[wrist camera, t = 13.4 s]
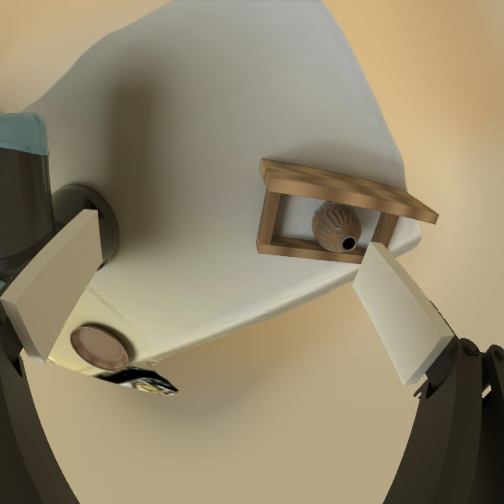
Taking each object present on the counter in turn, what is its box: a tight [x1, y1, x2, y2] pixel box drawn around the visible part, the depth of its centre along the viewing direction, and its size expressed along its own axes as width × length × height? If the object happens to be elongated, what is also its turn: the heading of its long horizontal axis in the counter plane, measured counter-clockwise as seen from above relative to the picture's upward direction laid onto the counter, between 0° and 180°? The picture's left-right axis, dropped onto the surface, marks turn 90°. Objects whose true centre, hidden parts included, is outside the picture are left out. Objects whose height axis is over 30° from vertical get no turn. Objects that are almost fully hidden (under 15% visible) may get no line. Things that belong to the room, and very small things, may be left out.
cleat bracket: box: [256, 159, 439, 264], centre depth 37 cm, size 24×13×10 cm, turn 81°
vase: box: [312, 202, 361, 253], centre depth 38 cm, size 7×7×9 cm
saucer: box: [70, 326, 129, 371], centre depth 52 cm, size 15×15×3 cm
